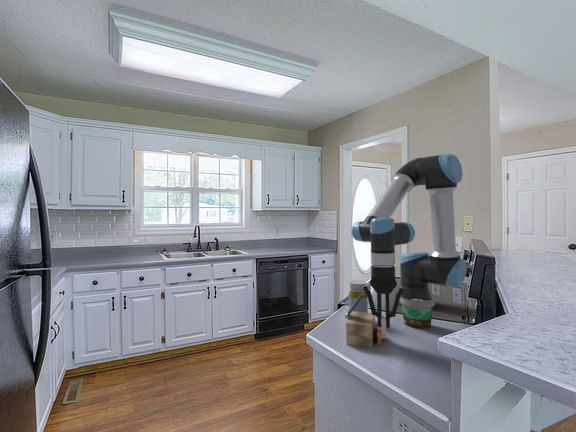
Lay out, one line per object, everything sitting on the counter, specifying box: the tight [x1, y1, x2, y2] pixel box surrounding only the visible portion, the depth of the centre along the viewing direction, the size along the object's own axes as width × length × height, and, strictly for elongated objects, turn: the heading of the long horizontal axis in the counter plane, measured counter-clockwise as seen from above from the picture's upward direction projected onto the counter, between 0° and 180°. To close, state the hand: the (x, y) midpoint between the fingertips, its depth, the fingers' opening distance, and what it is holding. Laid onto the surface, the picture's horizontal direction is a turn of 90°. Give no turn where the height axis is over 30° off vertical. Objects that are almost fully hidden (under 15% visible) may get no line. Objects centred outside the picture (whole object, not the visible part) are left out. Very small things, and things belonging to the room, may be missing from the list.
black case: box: [373, 326, 383, 346], centre depth 106 cm, size 11×7×4 cm, turn 72°
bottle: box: [348, 280, 369, 313], centre depth 123 cm, size 7×7×15 cm
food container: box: [400, 297, 436, 330], centre depth 116 cm, size 12×6×10 cm, turn 70°
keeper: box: [344, 292, 364, 319], centre depth 107 cm, size 10×5×1 cm
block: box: [345, 311, 376, 348], centre depth 106 cm, size 8×12×7 cm, turn 161°
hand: (384, 336), depth 104 cm, fingers closed
